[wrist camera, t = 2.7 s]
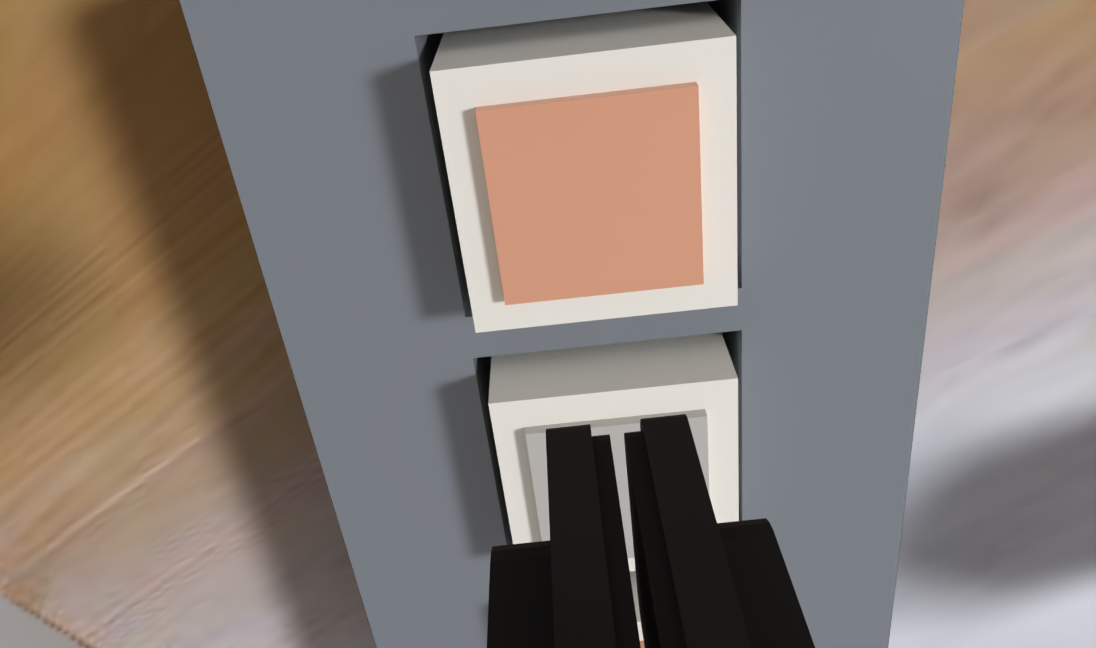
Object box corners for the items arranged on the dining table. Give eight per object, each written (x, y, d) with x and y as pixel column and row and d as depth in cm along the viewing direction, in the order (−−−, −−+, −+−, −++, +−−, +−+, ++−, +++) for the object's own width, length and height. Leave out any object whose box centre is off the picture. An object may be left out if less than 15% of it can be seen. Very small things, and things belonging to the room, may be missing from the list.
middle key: (493, 326, 25) (487, 411, 21) (710, 303, 25) (740, 385, 21) (520, 492, 28) (519, 590, 24) (714, 473, 28) (741, 569, 24)
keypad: (242, -53, 22) (173, -19, 18) (889, -133, 22) (978, -117, 17) (427, 650, 35) (413, 768, 31) (835, 613, 35) (878, 728, 30)
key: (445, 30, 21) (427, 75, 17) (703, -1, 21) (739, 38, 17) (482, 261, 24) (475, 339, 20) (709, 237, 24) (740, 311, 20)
